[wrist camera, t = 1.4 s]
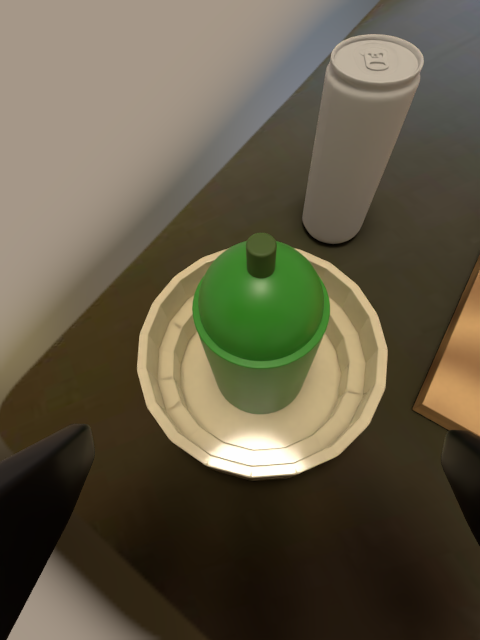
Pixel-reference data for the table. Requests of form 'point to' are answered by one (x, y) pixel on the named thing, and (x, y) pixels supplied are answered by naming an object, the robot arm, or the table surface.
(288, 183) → the table surface
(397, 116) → the beverage can
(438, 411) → the cutting board
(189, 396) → the bowl
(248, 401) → the green spray can
